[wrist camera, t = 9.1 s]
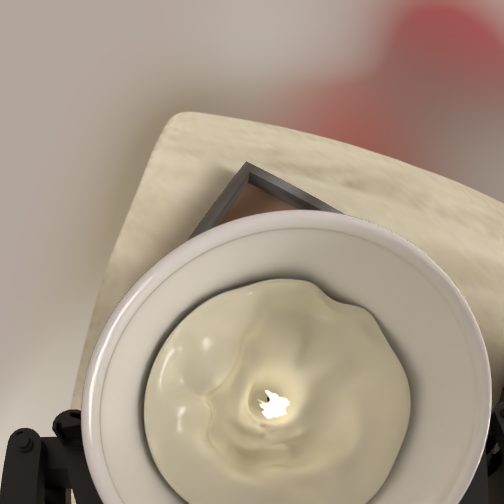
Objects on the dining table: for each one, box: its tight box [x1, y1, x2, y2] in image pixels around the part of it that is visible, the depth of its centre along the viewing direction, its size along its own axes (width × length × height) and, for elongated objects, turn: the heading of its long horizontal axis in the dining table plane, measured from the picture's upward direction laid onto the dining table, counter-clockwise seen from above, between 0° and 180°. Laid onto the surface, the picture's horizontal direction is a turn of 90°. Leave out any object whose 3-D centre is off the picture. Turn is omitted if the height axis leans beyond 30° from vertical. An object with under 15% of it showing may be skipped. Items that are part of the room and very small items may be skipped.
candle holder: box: [81, 210, 492, 504], centre depth 11 cm, size 10×10×12 cm
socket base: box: [188, 162, 345, 240], centre depth 29 cm, size 17×17×3 cm
